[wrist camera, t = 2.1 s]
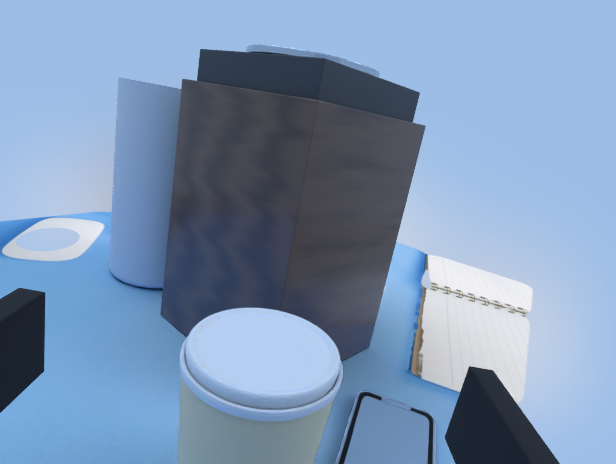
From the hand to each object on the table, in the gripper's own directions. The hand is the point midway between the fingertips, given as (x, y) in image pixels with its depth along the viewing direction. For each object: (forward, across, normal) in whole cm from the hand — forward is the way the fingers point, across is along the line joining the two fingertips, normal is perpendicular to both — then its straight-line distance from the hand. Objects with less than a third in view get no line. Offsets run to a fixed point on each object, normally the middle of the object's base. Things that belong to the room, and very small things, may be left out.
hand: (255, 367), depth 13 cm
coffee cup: (+10, 0, -17) cm, 20 cm away
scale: (+32, 0, +9) cm, 33 cm away
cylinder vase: (+43, -17, -17) cm, 49 cm away
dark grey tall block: (+32, 0, -17) cm, 36 cm away
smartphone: (+14, +11, -17) cm, 25 cm away
